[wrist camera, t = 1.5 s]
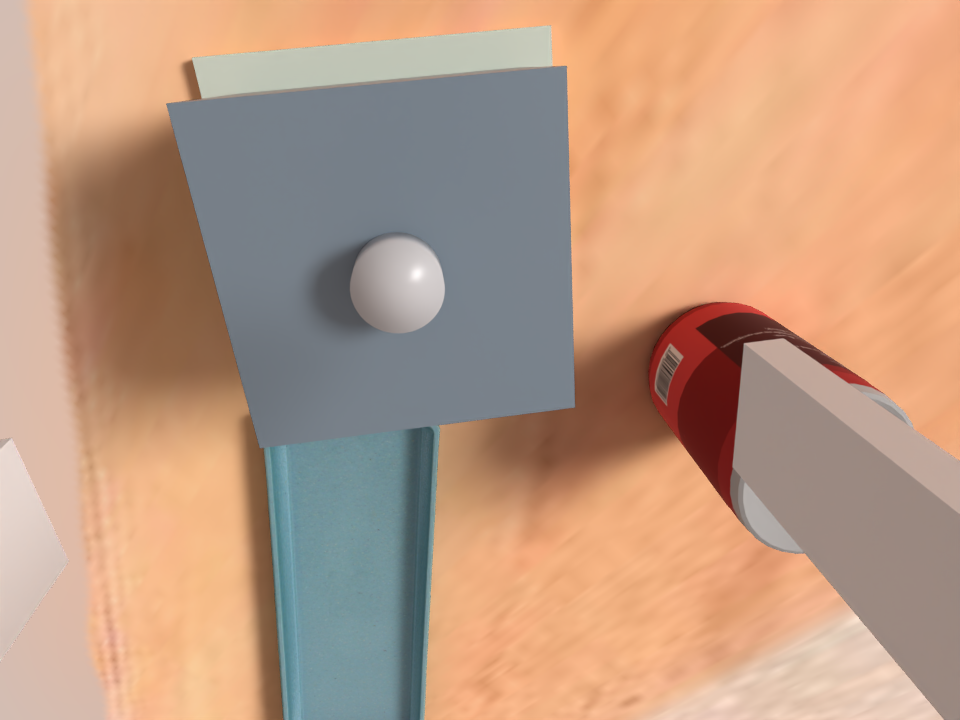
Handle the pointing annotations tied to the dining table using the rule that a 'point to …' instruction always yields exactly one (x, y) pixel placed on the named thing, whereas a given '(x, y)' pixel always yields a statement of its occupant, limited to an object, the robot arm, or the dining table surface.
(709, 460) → the canned food
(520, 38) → the mat
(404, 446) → the shallow long dish
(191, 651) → the dining table surface
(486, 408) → the cover
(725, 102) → the dining table surface
